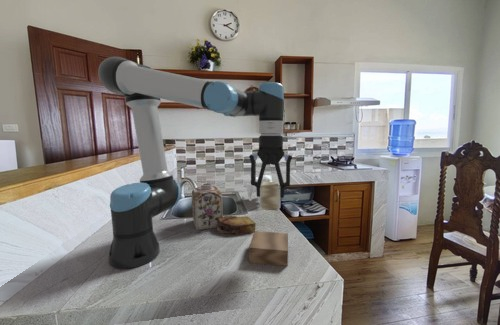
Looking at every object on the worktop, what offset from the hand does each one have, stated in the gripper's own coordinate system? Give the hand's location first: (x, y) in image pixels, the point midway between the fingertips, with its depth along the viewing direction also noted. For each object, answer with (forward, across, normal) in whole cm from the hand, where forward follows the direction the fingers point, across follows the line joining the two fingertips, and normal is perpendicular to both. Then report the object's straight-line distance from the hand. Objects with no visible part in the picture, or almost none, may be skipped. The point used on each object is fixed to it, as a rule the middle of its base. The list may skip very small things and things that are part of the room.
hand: (270, 206), depth 75 cm
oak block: (0, 0, 0) cm, 0 cm away
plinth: (+17, 0, 0) cm, 17 cm away
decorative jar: (+17, -30, +22) cm, 40 cm away
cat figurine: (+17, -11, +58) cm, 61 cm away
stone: (+17, -15, +17) cm, 29 cm away
